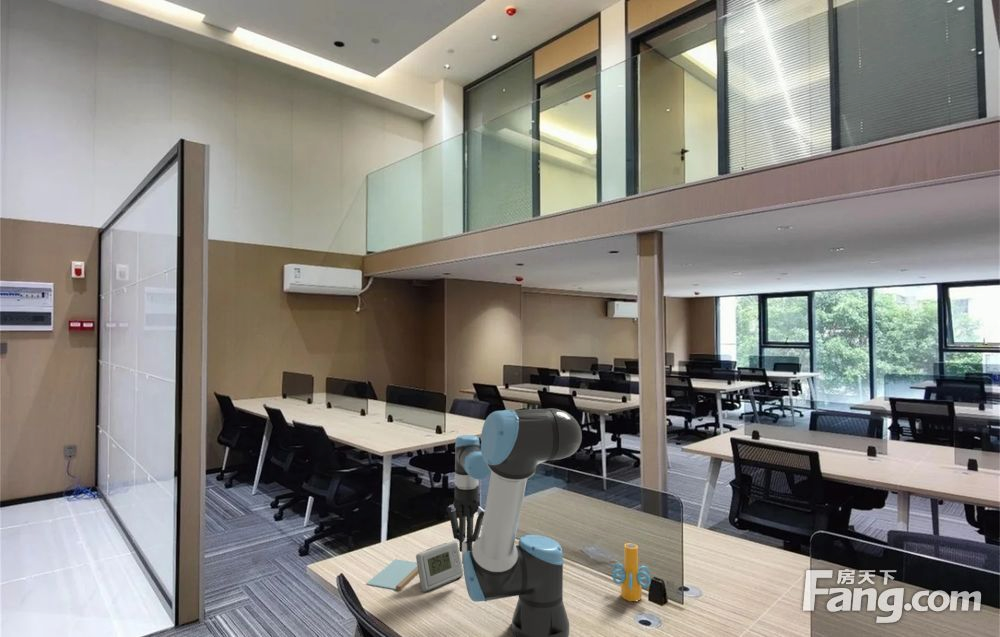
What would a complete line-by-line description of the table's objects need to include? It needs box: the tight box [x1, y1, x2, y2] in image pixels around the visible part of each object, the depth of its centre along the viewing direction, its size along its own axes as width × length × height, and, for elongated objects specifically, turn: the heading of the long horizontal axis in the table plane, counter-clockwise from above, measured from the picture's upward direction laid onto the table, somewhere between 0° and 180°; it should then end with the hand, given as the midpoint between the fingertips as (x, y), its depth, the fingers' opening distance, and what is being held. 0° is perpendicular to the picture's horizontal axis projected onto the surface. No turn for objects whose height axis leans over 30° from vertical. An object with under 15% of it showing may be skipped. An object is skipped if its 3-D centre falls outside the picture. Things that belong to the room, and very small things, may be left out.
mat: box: [366, 558, 419, 591], centre depth 159 cm, size 12×18×1 cm, turn 162°
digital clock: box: [415, 540, 464, 592], centre depth 155 cm, size 16×9×11 cm, turn 123°
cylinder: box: [612, 542, 652, 602], centre depth 146 cm, size 12×10×15 cm
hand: (465, 562), depth 152 cm, fingers closed
